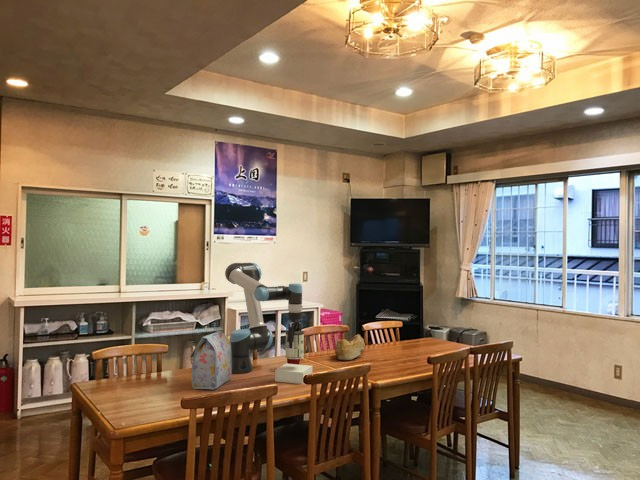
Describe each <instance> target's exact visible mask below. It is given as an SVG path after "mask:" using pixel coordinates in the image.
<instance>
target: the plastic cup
mask: <svg viewBox="0 0 640 480" xmlns="http://www.w3.org/2000/svg"><path fill="white" fill-rule="evenodd" d="M284 350H285V352H286V348H285V349H284ZM286 361H287V362H286V364H297V365H301V364H300V362H301V359H288V358H286Z"/></svg>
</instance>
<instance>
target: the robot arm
mask: <svg viewBox="0 0 640 480" xmlns="http://www.w3.org/2000/svg"><path fill="white" fill-rule="evenodd" d="M224 276H225V279H226V280H227V281H228V282H229V283H231V284H232V285H237V286H238V287H240V288H242V289H243V293H244V298H245V306H246V310H247V317H248V321H249V327H248V328H240V329H235V330H233V331H231V333H230V334H229V335H230V336H229V340H230V343H231V354H232V374H248V373H252V372H253V369H254V367H253V363H252V361H251V354H250V353H251V352H254V351H259V350H265V349H268V348H270V346H271V345H272V344H273V339H274V335H273V334H274V333H273V332H272V331H271V329H269V328H268V325H267V324H266V323H265V322H264V317H263V310H262V305H261V302H269V301H271V302H272V301H283V300H284V301H287V302H288V305H287V308H288V309H287V311H288V313H287V314H288V315H287V319H289V320H290V322H288V328H287V329H288V330H287V331H288V337H287V342H289V354H294V342H293V340H294V335H293V333H295V331H300V330H301V331H303V330H302V318H303V315H302V314H303V312H302V310H303V308H304V307H303V286H302V284H301V283H289V284H288V286H287V285H286V286H285V285H278V286H267V285H265V284H263V283H261V282H260V280H261V278H262V269H261V267H260V265H258V264H257V263H255V262H234V263H231V264H229V265H228V266H227V267H226V268H225V271H224Z"/></svg>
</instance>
